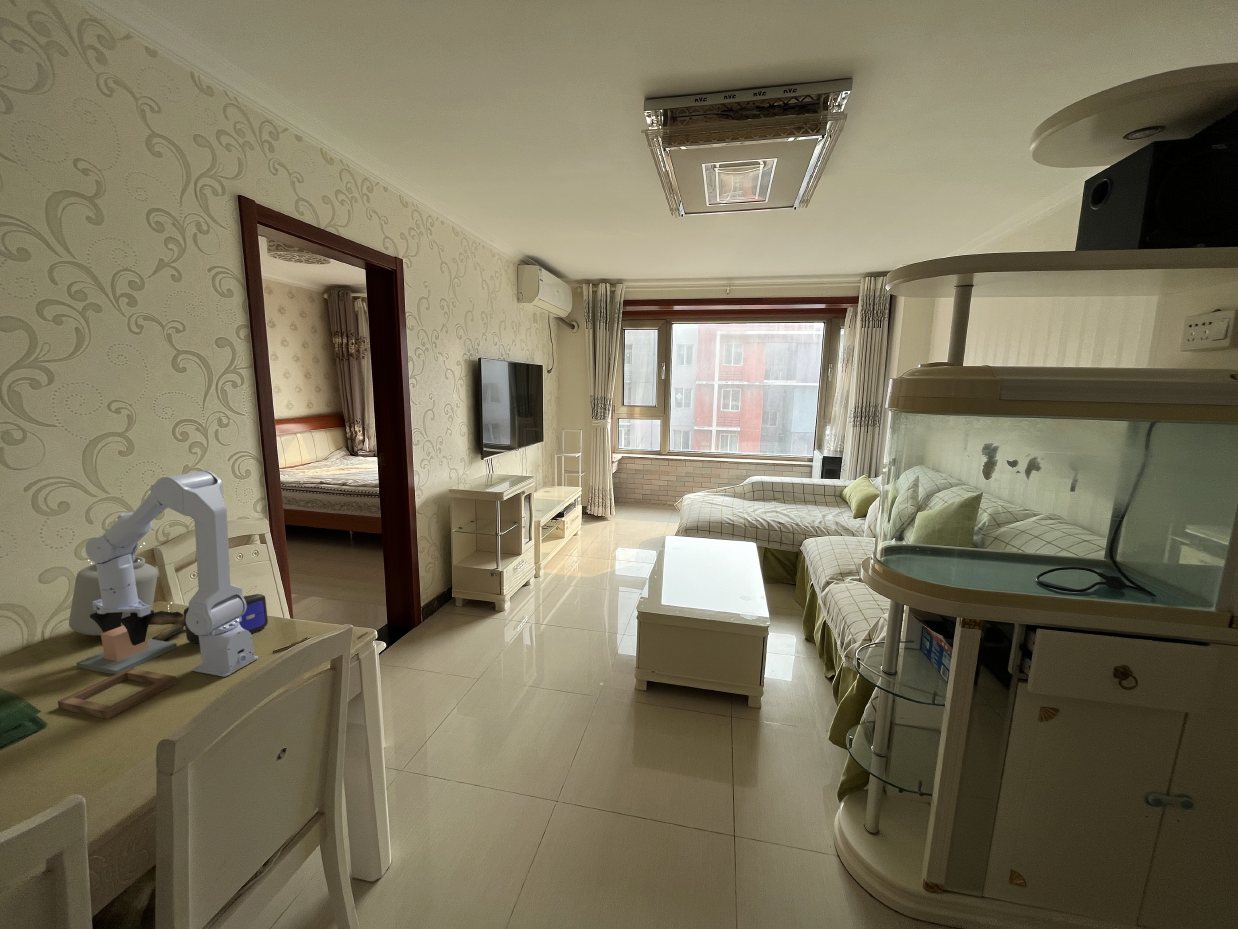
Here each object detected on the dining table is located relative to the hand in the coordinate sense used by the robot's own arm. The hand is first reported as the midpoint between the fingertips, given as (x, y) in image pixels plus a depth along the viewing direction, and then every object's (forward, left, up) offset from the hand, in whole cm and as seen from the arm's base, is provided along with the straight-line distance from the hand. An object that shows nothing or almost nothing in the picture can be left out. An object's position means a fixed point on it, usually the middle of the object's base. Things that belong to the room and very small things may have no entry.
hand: (126, 641), depth 115 cm
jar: (+17, -10, -4) cm, 20 cm away
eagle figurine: (+2, -11, -4) cm, 12 cm away
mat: (0, 0, -4) cm, 4 cm away
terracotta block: (0, 0, -3) cm, 3 cm away
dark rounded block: (-12, -14, -4) cm, 19 cm away
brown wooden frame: (-15, +11, -4) cm, 19 cm away
